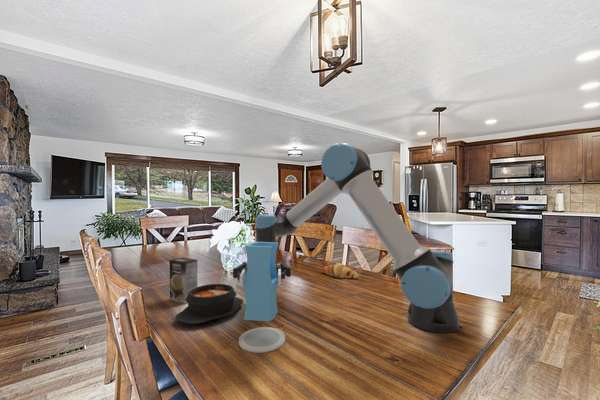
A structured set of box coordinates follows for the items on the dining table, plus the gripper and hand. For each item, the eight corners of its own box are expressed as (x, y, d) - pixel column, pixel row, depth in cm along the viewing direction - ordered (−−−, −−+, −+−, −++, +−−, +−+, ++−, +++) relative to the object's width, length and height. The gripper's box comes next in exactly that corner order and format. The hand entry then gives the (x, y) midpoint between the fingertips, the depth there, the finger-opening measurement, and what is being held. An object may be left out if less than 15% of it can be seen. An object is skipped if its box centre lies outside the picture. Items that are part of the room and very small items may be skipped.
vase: (271, 321, 76) (270, 247, 76) (243, 319, 77) (242, 246, 77) (279, 310, 84) (278, 242, 83) (253, 308, 85) (253, 241, 85)
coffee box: (169, 300, 112) (168, 259, 112) (182, 295, 118) (182, 256, 118) (185, 304, 108) (184, 262, 108) (198, 299, 114) (197, 258, 114)
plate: (294, 343, 79) (293, 340, 79) (250, 358, 71) (250, 354, 71) (271, 325, 90) (271, 323, 90) (231, 337, 82) (231, 334, 82)
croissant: (360, 285, 142) (363, 269, 145) (353, 279, 135) (356, 263, 138) (324, 277, 154) (327, 263, 157) (315, 272, 147) (319, 257, 150)
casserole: (218, 298, 115) (218, 277, 115) (255, 306, 106) (255, 284, 106) (162, 322, 93) (161, 296, 93) (201, 335, 84) (201, 307, 84)
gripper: (296, 271, 99) (301, 293, 77) (232, 273, 98) (218, 295, 75) (296, 250, 99) (301, 265, 77) (232, 251, 97) (218, 267, 75)
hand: (260, 280), depth 76 cm, fingers closed on vase, 9 cm apart
